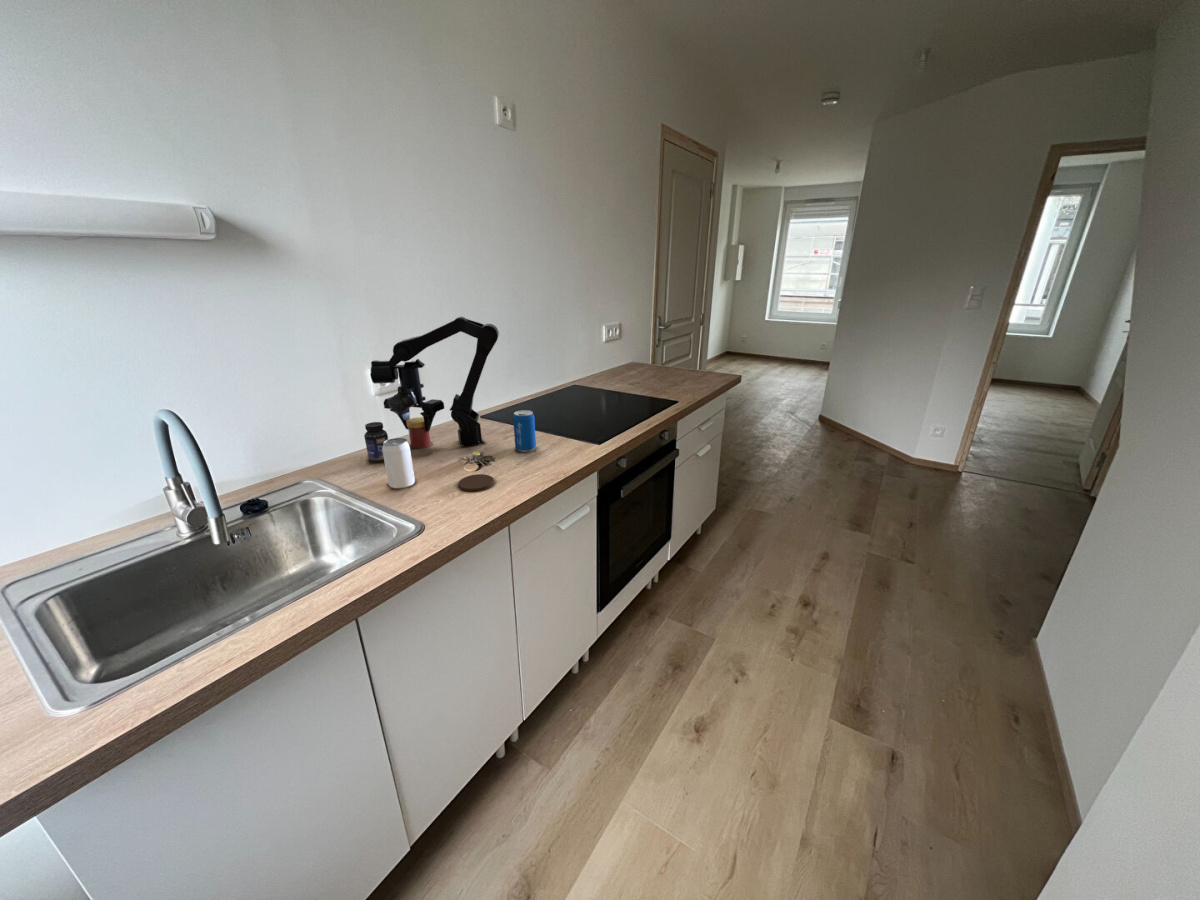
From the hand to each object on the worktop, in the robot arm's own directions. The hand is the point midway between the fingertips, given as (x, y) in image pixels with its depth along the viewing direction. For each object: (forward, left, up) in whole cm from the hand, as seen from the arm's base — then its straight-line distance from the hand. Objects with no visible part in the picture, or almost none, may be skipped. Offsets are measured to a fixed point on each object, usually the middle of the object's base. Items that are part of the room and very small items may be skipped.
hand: (417, 430), depth 144 cm
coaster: (-7, +38, -5) cm, 39 cm away
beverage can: (-28, +21, -5) cm, 35 cm away
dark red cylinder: (0, 0, -5) cm, 5 cm away
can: (+10, +28, -5) cm, 30 cm away
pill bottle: (+13, +6, -5) cm, 15 cm away
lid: (0, 0, +3) cm, 3 cm away
